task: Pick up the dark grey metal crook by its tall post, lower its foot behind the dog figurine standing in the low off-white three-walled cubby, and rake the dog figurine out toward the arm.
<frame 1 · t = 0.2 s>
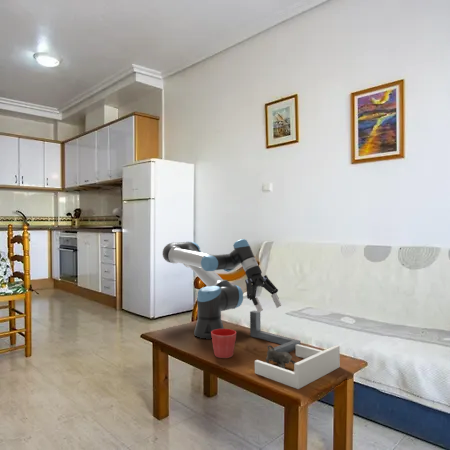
hand: (270, 309, 174), 15 cm above the table, tool tilted 30°, fingers open, 13 cm apart
crook: (255, 336, 182), on the table
flower pot: (224, 355, 156), on the table
low cubby: (294, 369, 140), on the table
dog figurine: (280, 367, 142), on the table
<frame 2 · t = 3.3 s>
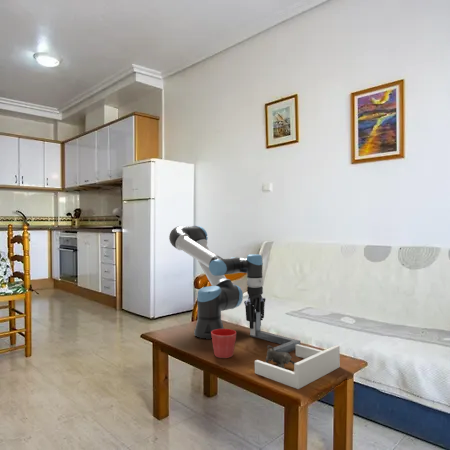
hand: (255, 334, 182), 1 cm above the table, tool pointing down, fingers closed on crook, 3 cm apart
crook: (255, 336, 182), on the table, touching gripper
everything else where it was.
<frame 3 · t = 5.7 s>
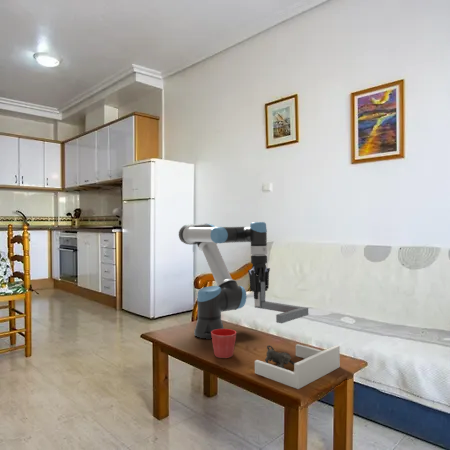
hand: (259, 305, 174), 17 cm above the table, tool pointing down, fingers closed on crook, 3 cm apart
crook: (260, 307, 174), point 16 cm above the table, touching gripper
everything else where it was.
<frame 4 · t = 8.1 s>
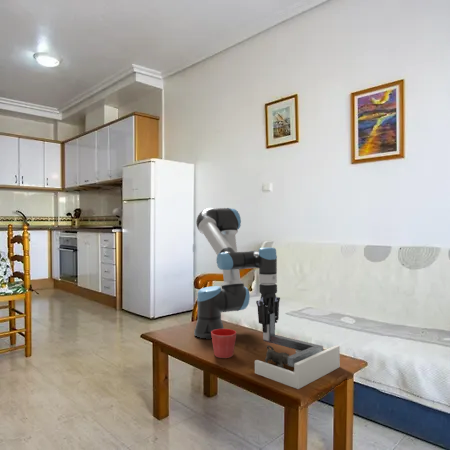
hand: (269, 338, 159), 6 cm above the table, tool pointing down, fingers closed on crook, 3 cm apart
crook: (269, 341, 159), point 5 cm above the table, touching gripper
everything else where it was.
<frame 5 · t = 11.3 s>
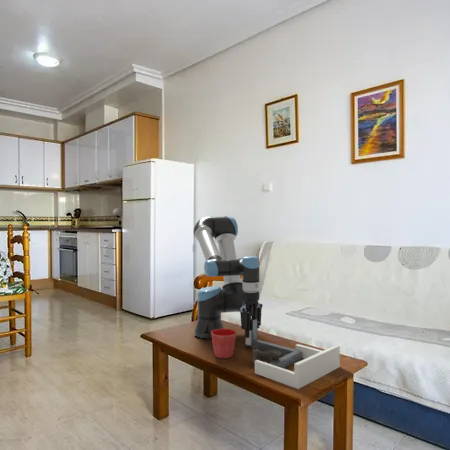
hand: (251, 343, 166), 1 cm above the table, tool pointing down, fingers closed on crook, 3 cm apart
crook: (251, 345, 166), on the table, touching dog figurine, gripper
dog figurine: (267, 365, 144), on the table, touching crook
everything else where it was.
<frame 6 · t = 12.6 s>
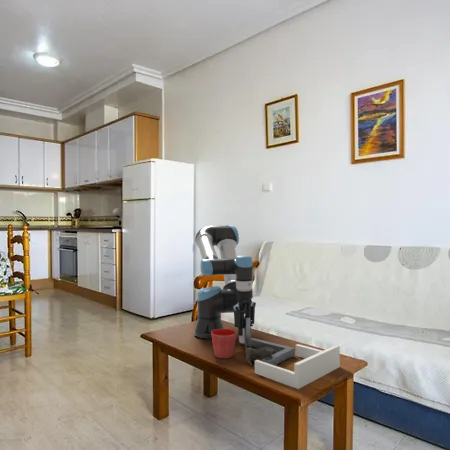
hand: (244, 341, 169), 1 cm above the table, tool pointing down, fingers closed on crook, 3 cm apart
crook: (245, 343, 169), on the table, touching dog figurine, gripper
dog figurine: (260, 363, 146), on the table, touching crook
everything else where it was.
when the fingers open (2 cm above the table, at t = 13.3 s): crook stays where it is, on the table.
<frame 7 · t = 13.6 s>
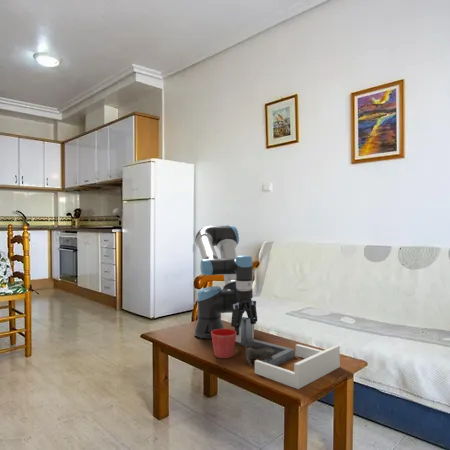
hand: (244, 339, 169), 2 cm above the table, tool pointing down, fingers open, 8 cm apart
crook: (245, 344, 169), on the table
dog figurine: (260, 363, 146), on the table
everything else where it was.
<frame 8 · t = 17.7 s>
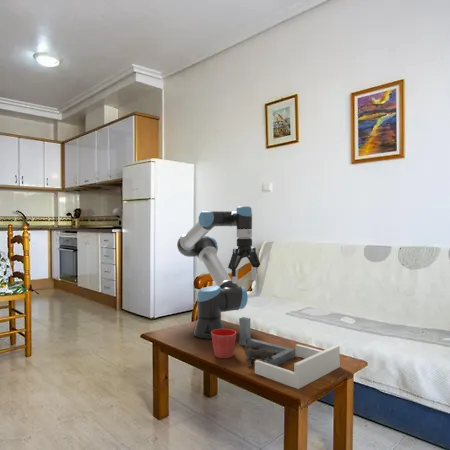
hand: (244, 281, 181), 27 cm above the table, tool pointing down, fingers open, 13 cm apart
at the end: dog figurine inside the target area (6.8 cm from its centre), on the table; dog figurine tilted 0° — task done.
